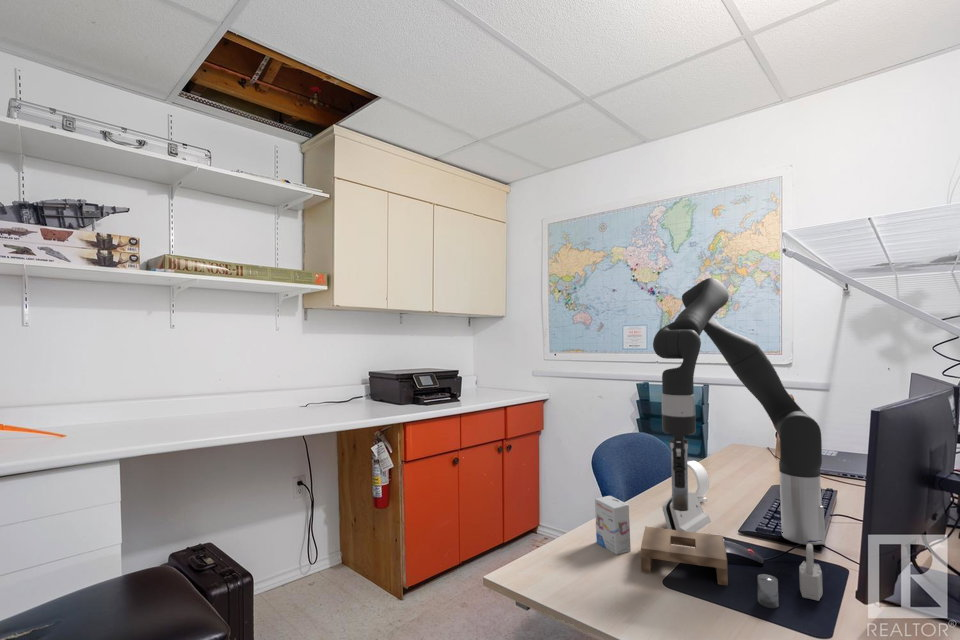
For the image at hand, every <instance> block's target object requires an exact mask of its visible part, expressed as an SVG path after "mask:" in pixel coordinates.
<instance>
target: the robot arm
mask: <svg viewBox="0 0 960 640" xmlns="http://www.w3.org/2000/svg"><path fill="white" fill-rule="evenodd" d="M729 298H730V296H729V293H728V290H727V288H726V286H725V285H724V284H723V283H722V282H721V281H720V280H718V279H716V278H713V277H709V278H704V279H703V280H702V281H700V282H698V283H697V284H695V285H694V286H692V287H691V288H689V289H688V290H686V291H685V292H684V293H683V294H682V296H681V301H682V304H683V306H684V309H683V310H682V311H681V312H680V313H679V314H678V315H677V317H676V318H675V320H674V321H672V322H670V323H669V324H667V325H664V326H663V327H662V328H660V329H659V330H658V331H657V332H656V333H655V335H654V338H653V342H652V349H653V351H654V353H655V354H656V356H657V357H659V358H662V359H666V360H667V359H670V360H671V359H673V360H674V359H676V360H677V359H678V360H682V363H681V364H680V366H678V367H672V368H667V369H665V370H663V372H662V373H661V383H662V386H661V388H662V389H661V390H662V396H661V428H662V429H661V430H662V432H663V433H664V434H668V435H672V436H673V438H670V441H669V447H670V450H671V456H670V460H671V459H672V461H673V466H674V467H673V470H674V471H675V487H676V488H685V471H686V468H685V462H686V461H687V462H688V449H689V440H688V439H686V438H685V436H691V435H695V433H696V432H697V427H696V425H697V423H696V421H697V419H696V418H697V417H696V403H695V402H696V401H695V395H694V394H695V393H694V392H695V390H694V389H695V386H694V383H695V382H694V376H695V369H696V365H697V361H698V359H699V358H698V357H699V354H700V351H701V344H702V341H701V337H700V336H701V335H702V332H704V333H705V334H706V335H707V336H708V337H709V339H710V340H711V341H712V342H713V344H714V346H716V348H717V350H718V351H719V352H720V353H721V356H723V358H724V360H725V361H726V362H727V364H728V366H729V367H730V368H731V370H732V371H733V373H734V374H735V376H736V377H737V378H738V379H739V380H740V382H741V383H742V384H743V385H744V387H745V388H746V390H748V391H749V393H751V394H752V395H753V396H754V398H755V399H757V401H758V402H759V403H760V405H761V406H762V408H763V409H764V410H765V412H766V414H767V415H768V417H769V419H770V421H771V422H772V425H773V426H774V428H775V430H776V433H777V434H778V435H779V442H780V443H779V446H780V447H779V448H780V456H779V462H778V467H779V468H778V469H779V470H778V471H779V472H778V475H779V494H780V495H779V496H780V497H779V498H780V499H779V500H780V516H781V517H780V521H781V524H780V525H781V526H780V528H781V536H782V537H783V538H784V539H786V540H788V541H790V542H792V543H796V544H800V545H807V544H808V543H810V544H812V545H813V546H817V545H822V546H823V545H824V546H825V545H826V531H825V529H826V526H825V509H824V508H825V507H824V506H823V505H822V487H821V486H822V485H821V484H822V483H821V468H822V462H823V458H822V457H823V454H822V453H823V452H822V451H823V450H822V449H823V448H822V445H823V443H822V433H821V432H822V430H821V427H820V425H819V424H818V422H817V421H816V420H815V419H814V418H812V417H811V416H810V415H809V414H808V413H806V412H805V411H804V410H803V409H802V408H801V406H799V404H798V403H797V402H796V401H795V400H794V399H793V398H792V396H791V395H790V394H789V393H788V391H787V390H786V388H785V386H784V384H783V382H782V380H781V379H780V376H779V375H778V373H777V370H776V369H775V367H774V366H773V364H772V363H771V361H770V359H769V357H768V356H767V355H766V353H764V351H763V350H762V349H761V347H760V346H759V345H758V343H756V342H755V341H754V340H752V339H750V338H748V337H746V336H744V335H742V334H739V333H736V332H733V331H732V330H730V329H728V328H726V327H724V326H723V325H722V324H721V323H720V322H719V321H718V320H716V319H715V317H714V315H715V314H716V313H717V312H718V311H719V310H720V309H721V308H724V306H725V305H726V304H727V303H728V301H729ZM676 463H682V464H683V466H677V465H676ZM782 532H783V533H782ZM809 540H822V541H817V542H807V541H809Z"/></svg>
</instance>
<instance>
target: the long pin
mask: <svg viewBox="0 0 960 640" xmlns="http://www.w3.org/2000/svg"><path fill="white" fill-rule="evenodd" d="M687 462H688V460H687V461H686V462H685V468H686V471H685V488H676V487H675V471H674V470H673V467H674V466H673V461H672V459H671V458H670V463H671V467H670V469H671V470H670V471H671V496H672V508H673V509H674V510H677V511H688V510H689V507H688V492H689V475H688V468H689V467H688V466H687ZM676 465H677V466H683V464H682V463H676Z"/></svg>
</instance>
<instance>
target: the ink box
mask: <svg viewBox="0 0 960 640" xmlns="http://www.w3.org/2000/svg"><path fill="white" fill-rule="evenodd" d="M594 505H595V506H594V507H595V509H594V511H595V514H594V515H595V532H596V533H595V535H596V536H595V537H596V538H595V539H596V544H598V545H600V546H602V547H604V548H605V549H607V550H608V551H610V552H612V553H614V554H615V555H620V554H624V553H628V552H631V550H632V548H631V528H630V527H631V526H630V505H629V504H628V503H626V502H625V501H622V500H620V499H618V498H616V497H614V496H613V495H607V496H606V495H605V496H602V497H601V496H600V497H597V498H595V499H594Z"/></svg>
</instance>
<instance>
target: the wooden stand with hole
mask: <svg viewBox="0 0 960 640" xmlns="http://www.w3.org/2000/svg"><path fill="white" fill-rule="evenodd" d="M653 559H654V560H662V561H665V562H667V561H668V562H674V563H681V564H686V565H687V564H688V565H695V566H696V565H697V566H702V567H709V568H715V572H716V580H717V584H718V585H720V586H729V581H728V580H729V579H728V578H729V577H728V556H727V553H726V546H725V541H724V535H719V534H712V533H703V532H702V533H701V532H697V531H696V532H688V531H679V530H671V529H668V528H663V527H654V526H653V527H652V526H645V527H644V530H643V536H642V539H641V544H640V573H644V574H651V573H652V572H651V571H652V566H653Z"/></svg>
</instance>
